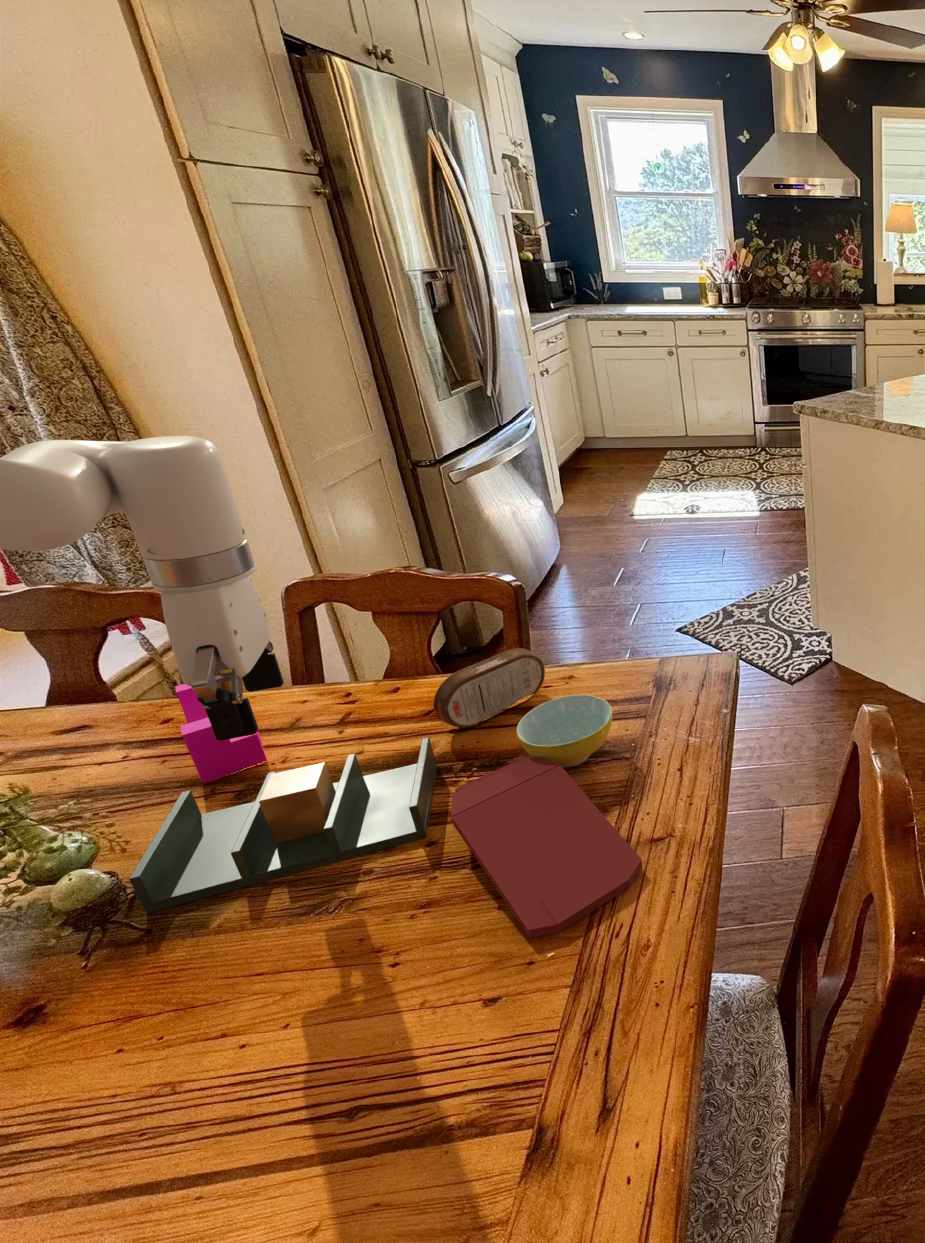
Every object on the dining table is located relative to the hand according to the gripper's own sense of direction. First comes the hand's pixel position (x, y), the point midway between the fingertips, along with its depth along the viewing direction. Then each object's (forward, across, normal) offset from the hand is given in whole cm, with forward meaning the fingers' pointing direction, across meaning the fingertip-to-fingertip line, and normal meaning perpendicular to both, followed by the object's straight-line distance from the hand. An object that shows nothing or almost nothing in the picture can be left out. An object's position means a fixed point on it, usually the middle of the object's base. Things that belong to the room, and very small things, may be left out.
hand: (252, 710), depth 78 cm
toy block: (+17, -24, -12) cm, 31 cm away
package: (+16, 0, +1) cm, 16 cm away
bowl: (+16, -2, +29) cm, 34 cm away
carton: (+17, +14, +25) cm, 34 cm away
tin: (+17, -18, +20) cm, 32 cm away
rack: (+17, 0, +1) cm, 17 cm away
